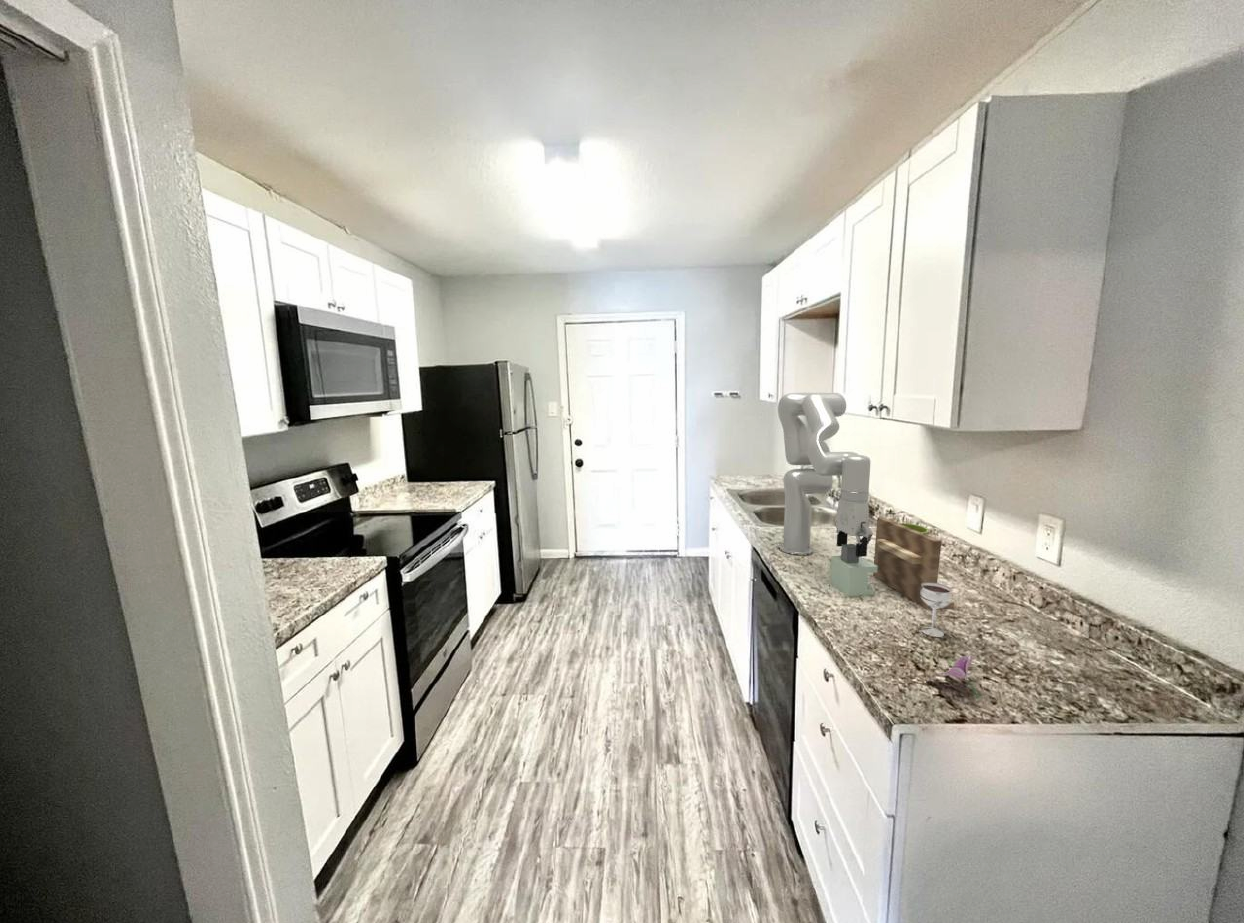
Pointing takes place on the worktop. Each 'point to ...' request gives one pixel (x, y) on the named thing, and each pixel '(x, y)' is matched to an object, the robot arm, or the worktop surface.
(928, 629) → the wineglass
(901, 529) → the wall board
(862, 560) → the mint green box
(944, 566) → the worktop surface
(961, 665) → the lily
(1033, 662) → the worktop surface
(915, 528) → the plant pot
